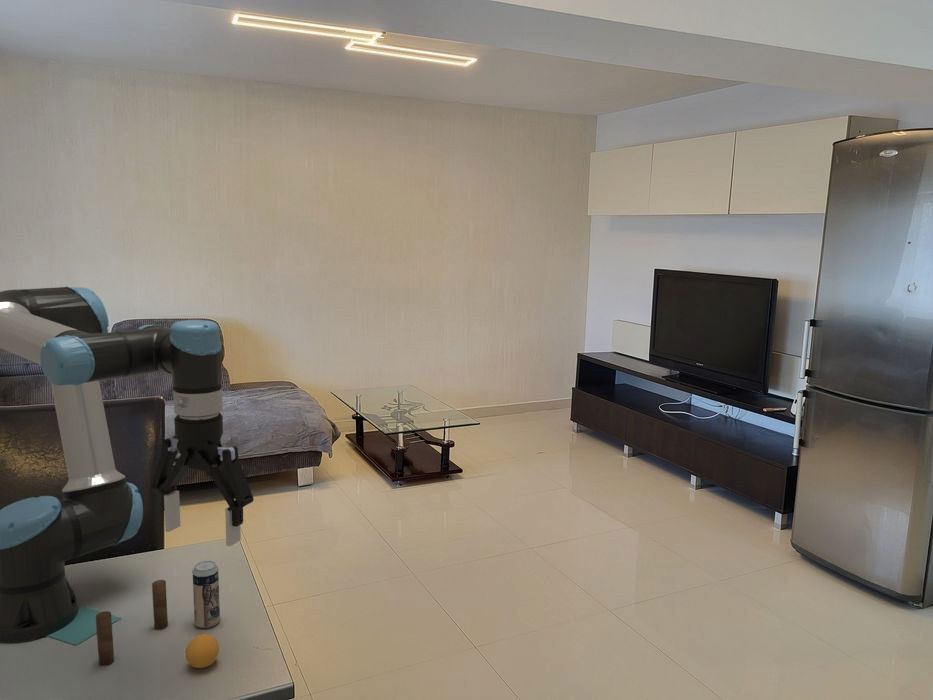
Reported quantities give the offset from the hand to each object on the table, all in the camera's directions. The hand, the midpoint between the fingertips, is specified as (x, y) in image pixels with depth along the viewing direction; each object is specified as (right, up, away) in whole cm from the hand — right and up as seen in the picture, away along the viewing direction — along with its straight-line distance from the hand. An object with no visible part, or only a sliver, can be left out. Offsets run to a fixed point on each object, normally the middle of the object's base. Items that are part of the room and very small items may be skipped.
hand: (202, 535), depth 119 cm
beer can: (-5, -22, +17) cm, 28 cm away
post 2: (-14, -22, +15) cm, 30 cm away
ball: (-1, -21, +3) cm, 21 cm away
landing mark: (-29, -21, +15) cm, 39 cm away
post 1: (-19, -23, +4) cm, 30 cm away
